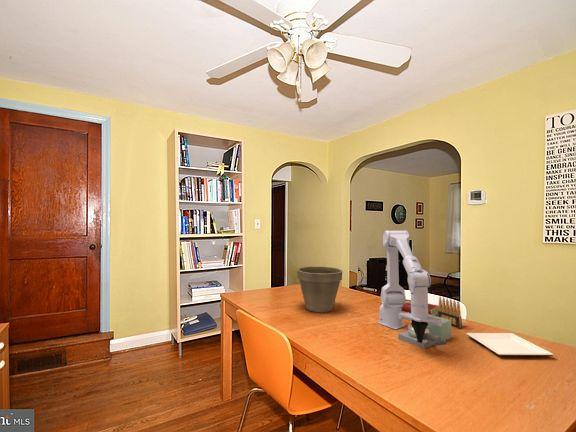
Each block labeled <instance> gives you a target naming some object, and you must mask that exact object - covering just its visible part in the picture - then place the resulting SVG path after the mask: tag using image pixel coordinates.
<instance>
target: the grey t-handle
mask: <svg viewBox="0 0 576 432" xmlns="http://www.w3.org/2000/svg"><path fill="white" fill-rule="evenodd" d="M407 331H408V334H409V335H410V336H412V337H415V338H417V337H416V334H415V331H414V329H413V327H412V326H411V323H408V324H407ZM425 338H428V339H430V340H431V341H433V345H432V346H443V345H444V346H445V345H447V340H439V339H437V338H435V337H433V336H431V335H430V328H429V327H428V326H427V328H426V330H425V333H424V336H423V339H425Z"/></svg>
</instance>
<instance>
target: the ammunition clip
mask: <svg viewBox="0 0 576 432" xmlns="http://www.w3.org/2000/svg"><path fill="white" fill-rule="evenodd" d="M437 305H438V308H439V311H438V314H437V317H441V318H445V319H448V320H451V327H453V328H456V329H458V330H459V329H462V328H463V321H462V313H461V304H460V301H459V300H457V302H456V300H455V299H454V300H453V301H452V298H450V299H449V298H448V297H447V298H446V299H445V297H443V298H442V296H439V298H438V304H437Z"/></svg>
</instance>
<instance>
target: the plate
mask: <svg viewBox="0 0 576 432" xmlns="http://www.w3.org/2000/svg"><path fill="white" fill-rule="evenodd" d="M465 334H466V335H467V336H468V337H470V338H471V339H473V340H474V341H476V342H477V343H479V344H481V345H482V346H484V347H485V348H487V349H488V350H490V351H492V352H493V353H495V354H497V355H498V356H501V357H504V356H505V357H513V356H515V357H552V356H554V355H555V354H554V353H552V352H550V351H549V350H546V349H544V348H542V347H540V346H538V345H536V344H534V343H532V342H531V341H528V340H526V339H524V338H522V337H520V336H519V335H516V334H514V333H513V332H466V333H465Z"/></svg>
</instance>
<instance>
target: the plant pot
mask: <svg viewBox="0 0 576 432" xmlns="http://www.w3.org/2000/svg"><path fill="white" fill-rule="evenodd" d="M296 271H297V279H298V280H299V285H300V289H301V293H302V298H303V301H304V302H303V303H304V305H305V308H306V309H307V310H308V311H309V312H314V313H328V312H331V311H333V308H334V306H335V305H334V304H335V302H336V298H337V294H338V291H339V287H340V283H341V281H342V280H343V269H340V268H338V267H330V266H303V267H298V268H297V270H296Z"/></svg>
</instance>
